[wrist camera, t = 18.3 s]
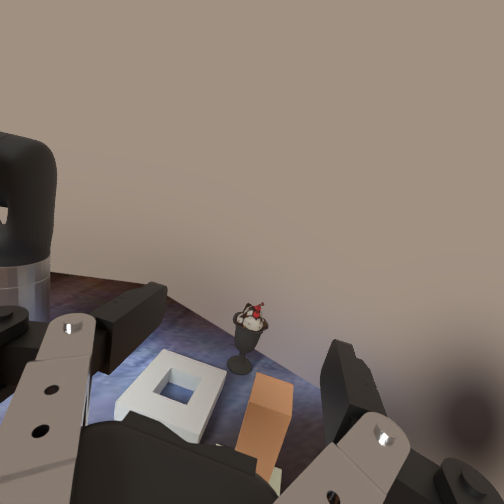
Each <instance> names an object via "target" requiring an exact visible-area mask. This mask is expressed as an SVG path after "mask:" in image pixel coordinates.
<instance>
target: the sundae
mask: <svg viewBox="0 0 504 504" xmlns="http://www.w3.org/2000/svg"><path fill="white" fill-rule="evenodd" d="M261 304H262V305H261ZM261 304H259V305H260V306H263V305H264V303H263V302H262V303H261ZM259 305H258V306H252V305H251V304H249V303H247V304H246V306H245V309H244V311H243V312H237V313H236V314H235V315H234V317H233V322H234V324H235V325H236V331H235V346H236V348H237V349H238V350H239V351H240V353H239V356H233V357H231V358H230V359H229V360H228V361H227V366H228V368H229V369H230V370H231V371H232V372H233V373H235V374H239V375H245V374H248V373H249V372H250V371H251V370H252V365H251V363H250V362H249V361H248V360H247V359H246V358H245V354H246V353H248V352H250V351H252V350H254V348H255V346H256V345H257V343H258V340H259V338H260V335H261V334H262V333H263V331H264V330H266V329H268V324H267V322H266V321H265V319H264V318H263V317H262V311H261V307H260V306H259Z"/></svg>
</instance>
